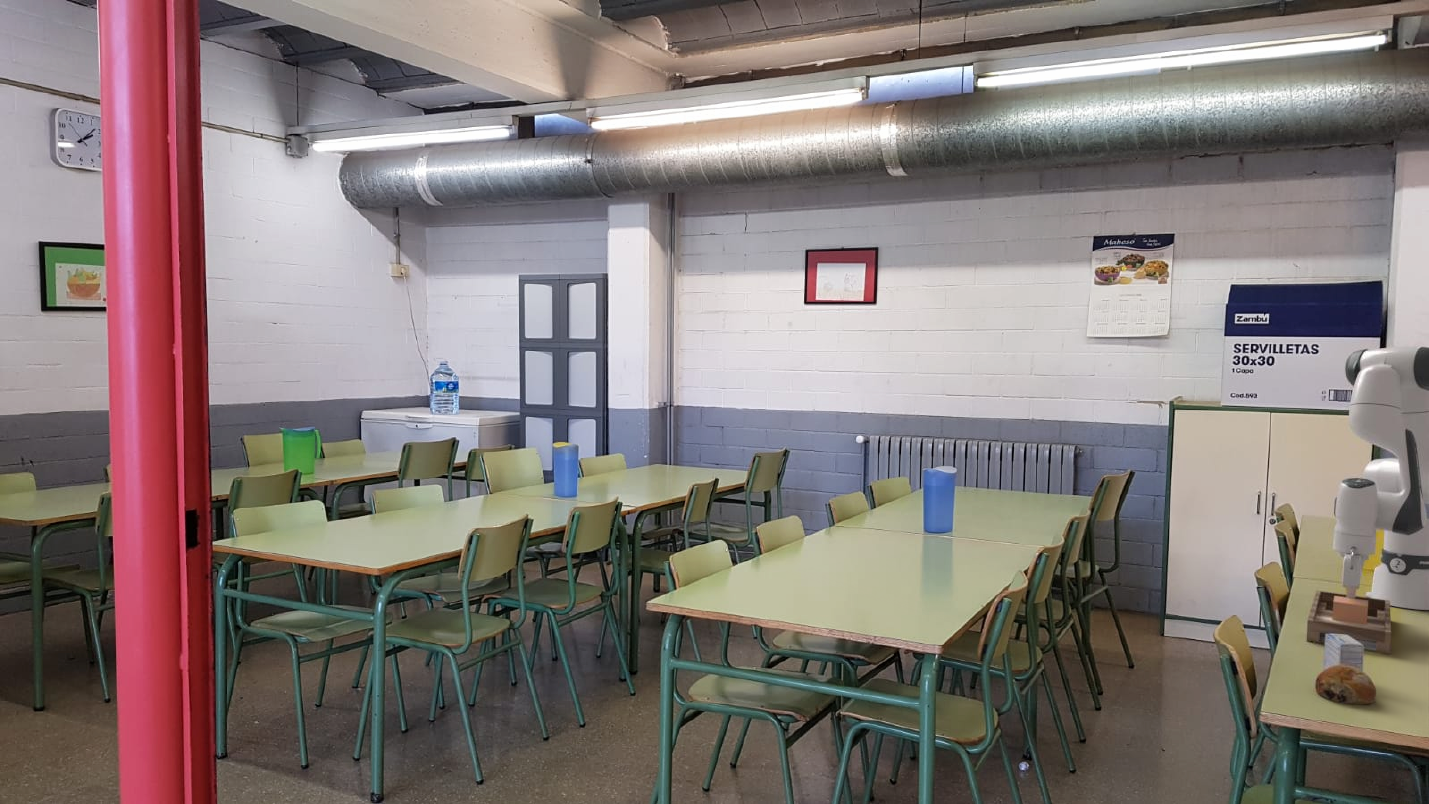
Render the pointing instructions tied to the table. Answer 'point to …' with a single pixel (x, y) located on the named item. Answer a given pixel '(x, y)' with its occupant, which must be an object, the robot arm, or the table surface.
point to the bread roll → (1346, 685)
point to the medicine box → (1342, 651)
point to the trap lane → (1369, 635)
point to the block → (1350, 610)
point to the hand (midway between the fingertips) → (1350, 599)
